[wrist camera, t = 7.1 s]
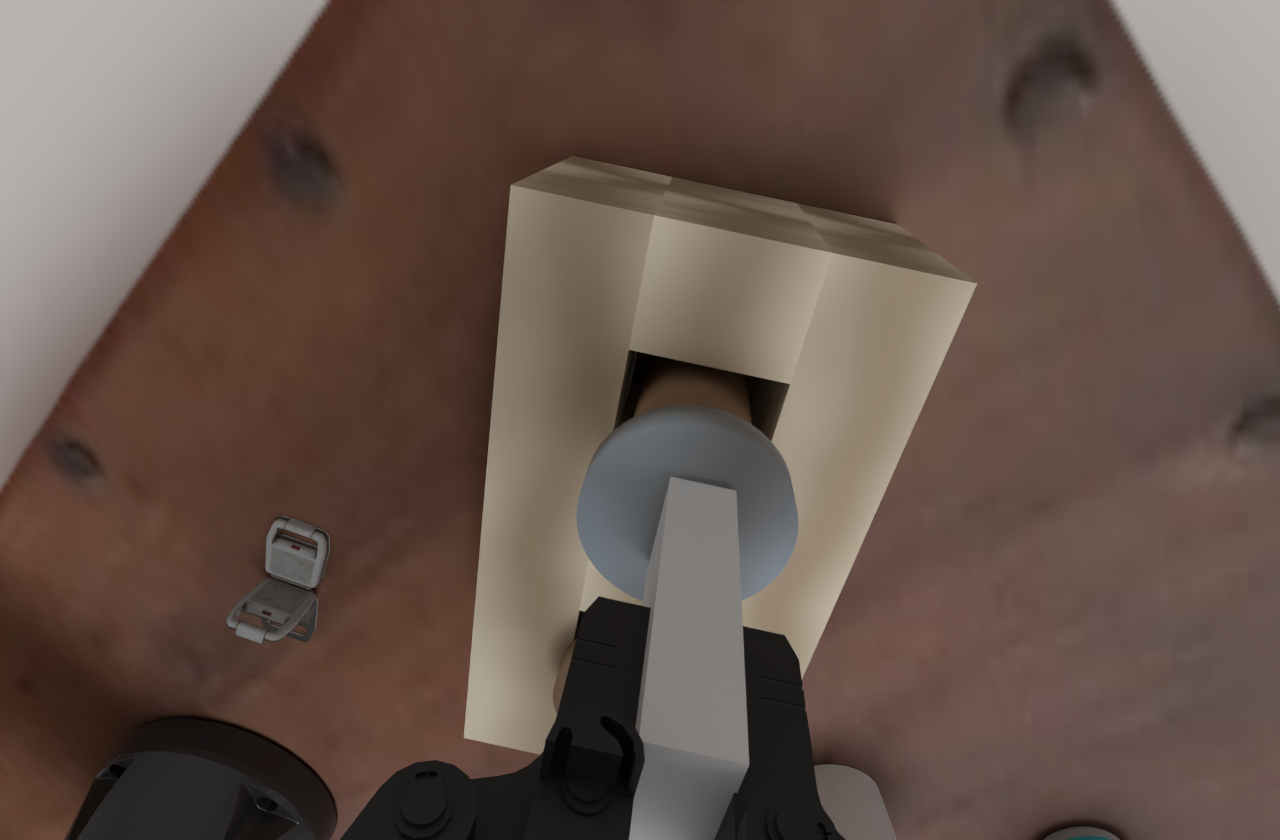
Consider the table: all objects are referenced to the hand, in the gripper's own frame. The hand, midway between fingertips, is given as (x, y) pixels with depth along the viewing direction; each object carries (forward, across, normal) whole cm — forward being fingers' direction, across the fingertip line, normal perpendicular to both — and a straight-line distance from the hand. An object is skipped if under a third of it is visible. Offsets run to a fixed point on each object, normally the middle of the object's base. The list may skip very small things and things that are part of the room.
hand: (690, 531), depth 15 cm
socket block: (+13, 0, -5) cm, 14 cm away
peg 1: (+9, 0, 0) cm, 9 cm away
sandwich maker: (+13, -18, -18) cm, 29 cm away
